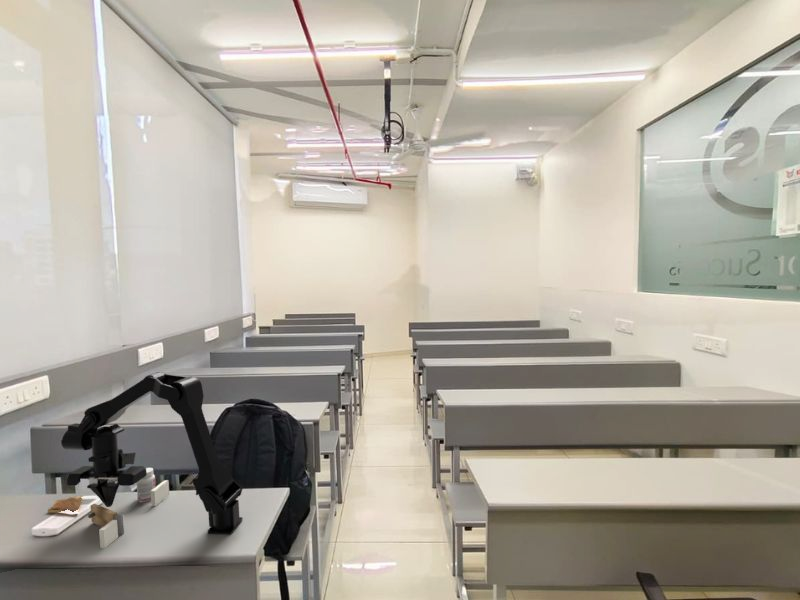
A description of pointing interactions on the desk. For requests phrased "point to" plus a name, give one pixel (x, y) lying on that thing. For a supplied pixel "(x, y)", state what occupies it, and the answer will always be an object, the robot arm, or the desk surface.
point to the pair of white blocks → (116, 525)
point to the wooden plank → (101, 515)
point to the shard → (66, 505)
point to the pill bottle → (146, 486)
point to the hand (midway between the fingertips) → (109, 506)
